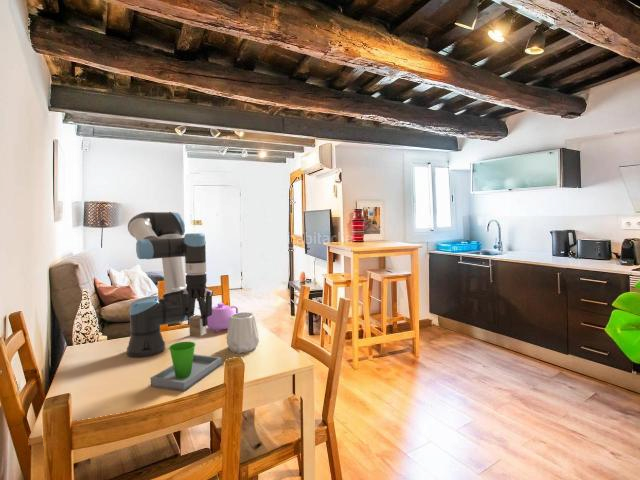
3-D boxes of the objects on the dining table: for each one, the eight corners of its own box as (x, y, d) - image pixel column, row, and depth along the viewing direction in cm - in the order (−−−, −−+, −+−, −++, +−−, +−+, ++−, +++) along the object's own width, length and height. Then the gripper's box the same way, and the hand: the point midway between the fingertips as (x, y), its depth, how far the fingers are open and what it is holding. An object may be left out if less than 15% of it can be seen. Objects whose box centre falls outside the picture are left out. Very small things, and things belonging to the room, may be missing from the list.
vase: (229, 356, 143) (228, 321, 142) (224, 345, 156) (223, 313, 155) (262, 351, 149) (261, 317, 148) (254, 341, 162) (254, 309, 161)
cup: (201, 371, 127) (200, 342, 127) (188, 382, 118) (187, 351, 118) (178, 369, 129) (178, 340, 128) (164, 380, 120) (163, 349, 119)
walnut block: (196, 332, 134) (196, 315, 133) (205, 333, 133) (204, 315, 132) (189, 335, 130) (189, 317, 130) (198, 336, 129) (198, 318, 128)
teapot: (201, 337, 168) (200, 310, 167) (194, 329, 181) (193, 303, 180) (244, 329, 179) (243, 303, 179) (234, 322, 192) (234, 298, 192)
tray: (150, 386, 118) (150, 377, 118) (192, 361, 139) (191, 353, 139) (184, 391, 114) (184, 382, 114) (222, 365, 135) (221, 357, 135)
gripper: (170, 274, 129) (172, 335, 130) (209, 275, 124) (211, 338, 125) (183, 271, 136) (185, 329, 137) (221, 272, 131) (222, 332, 132)
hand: (197, 333), depth 131 cm, fingers closed on walnut block, 4 cm apart
